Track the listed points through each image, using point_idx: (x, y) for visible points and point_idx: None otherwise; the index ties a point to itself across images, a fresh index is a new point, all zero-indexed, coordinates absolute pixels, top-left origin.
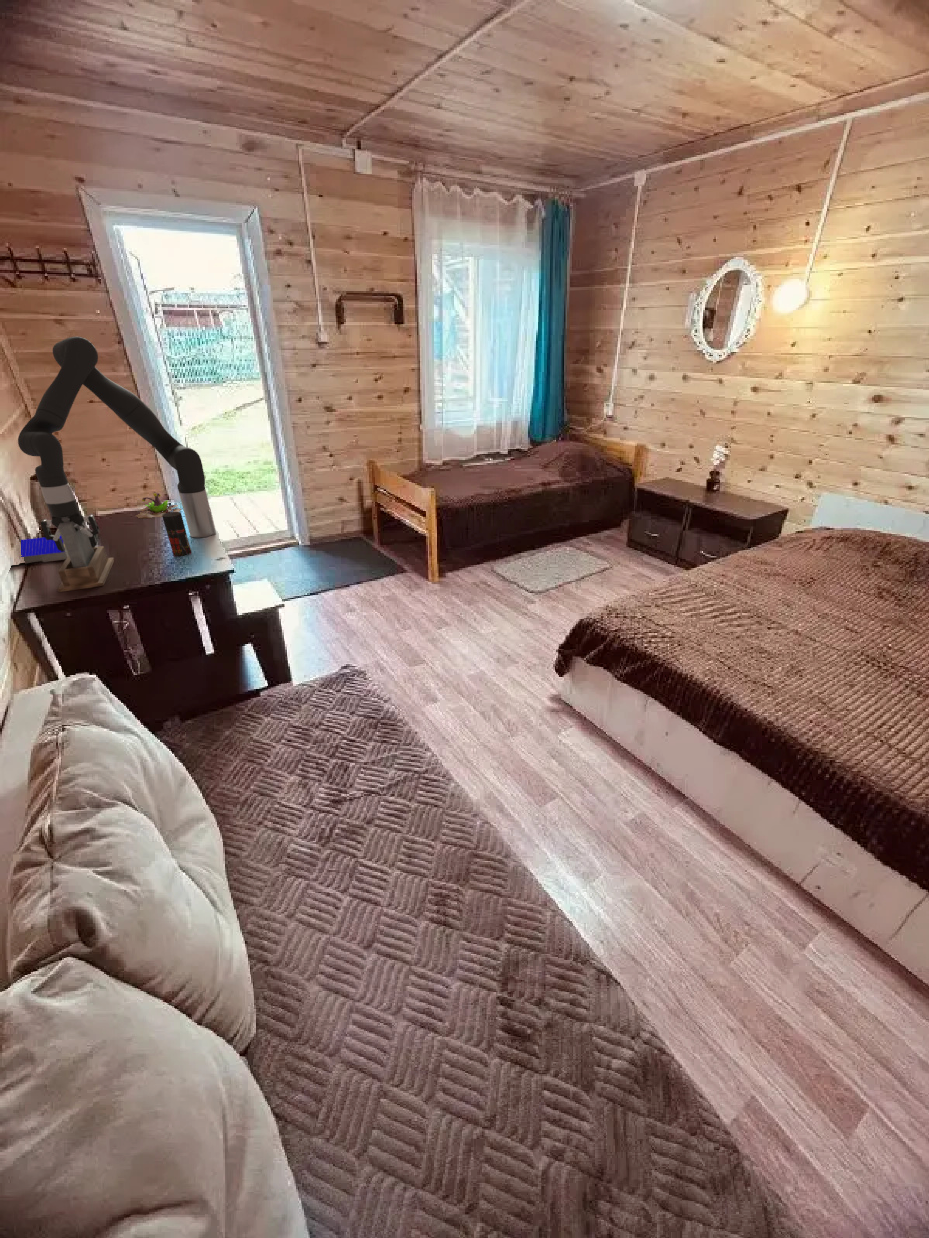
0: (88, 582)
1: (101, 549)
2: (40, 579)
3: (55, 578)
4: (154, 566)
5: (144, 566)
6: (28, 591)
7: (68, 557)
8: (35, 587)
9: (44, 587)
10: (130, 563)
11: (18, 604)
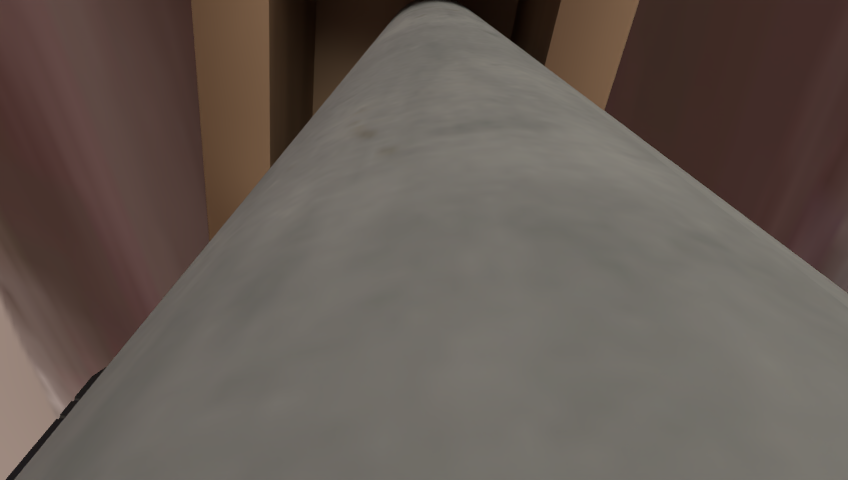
0: None
1: (604, 94)
2: (12, 108)
3: (141, 153)
4: (844, 287)
5: (791, 249)
6: (43, 320)
7: (222, 211)
8: (59, 273)
9: (126, 303)
10: (737, 106)
11: None
